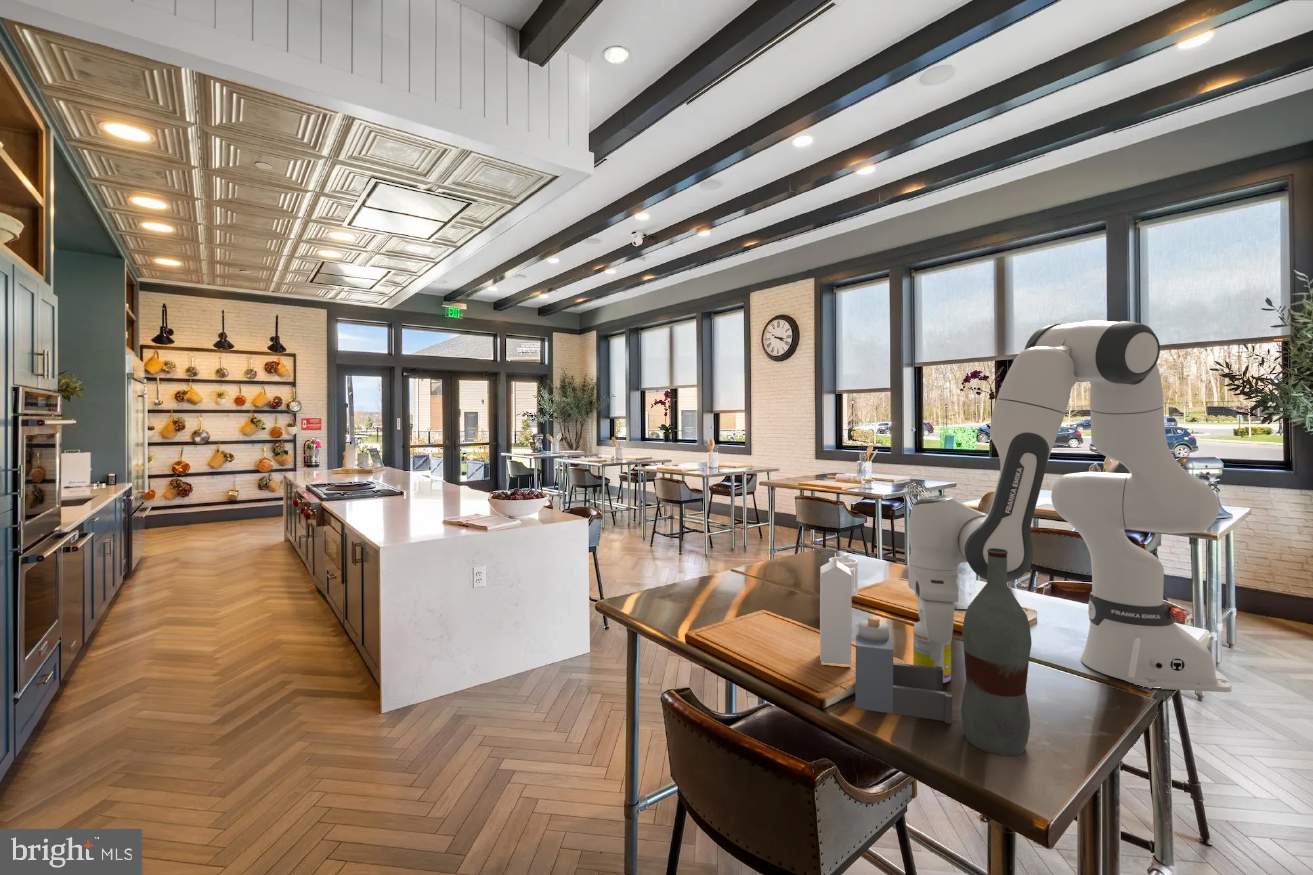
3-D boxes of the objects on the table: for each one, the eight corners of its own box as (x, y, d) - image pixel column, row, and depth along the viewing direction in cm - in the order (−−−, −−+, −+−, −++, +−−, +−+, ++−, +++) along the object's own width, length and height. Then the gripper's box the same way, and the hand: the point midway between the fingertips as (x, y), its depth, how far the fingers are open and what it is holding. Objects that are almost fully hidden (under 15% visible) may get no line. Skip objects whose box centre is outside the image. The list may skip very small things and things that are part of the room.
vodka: (962, 749, 90) (965, 553, 88) (958, 721, 98) (961, 541, 97) (1035, 764, 86) (1039, 559, 85) (1024, 733, 94) (1028, 546, 93)
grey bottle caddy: (939, 683, 112) (940, 609, 111) (951, 723, 97) (952, 638, 97) (855, 673, 116) (856, 601, 116) (855, 709, 102) (856, 628, 101)
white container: (860, 612, 152) (860, 554, 152) (853, 620, 146) (854, 560, 146) (833, 607, 156) (833, 551, 156) (825, 615, 150) (825, 556, 150)
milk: (820, 665, 120) (820, 558, 119) (819, 654, 126) (819, 551, 125) (852, 668, 119) (851, 559, 118) (849, 656, 124) (849, 552, 124)
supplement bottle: (943, 670, 118) (943, 606, 117) (956, 685, 111) (957, 617, 110) (908, 669, 118) (908, 605, 118) (919, 684, 112) (920, 616, 111)
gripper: (910, 565, 125) (909, 630, 125) (921, 593, 105) (920, 669, 106) (943, 567, 123) (942, 633, 123) (960, 596, 103) (959, 674, 104)
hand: (932, 650), depth 114 cm, fingers open, 7 cm apart
